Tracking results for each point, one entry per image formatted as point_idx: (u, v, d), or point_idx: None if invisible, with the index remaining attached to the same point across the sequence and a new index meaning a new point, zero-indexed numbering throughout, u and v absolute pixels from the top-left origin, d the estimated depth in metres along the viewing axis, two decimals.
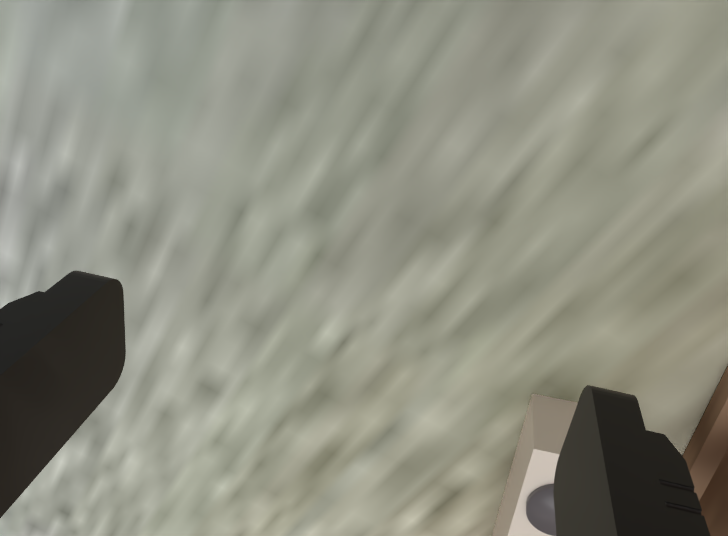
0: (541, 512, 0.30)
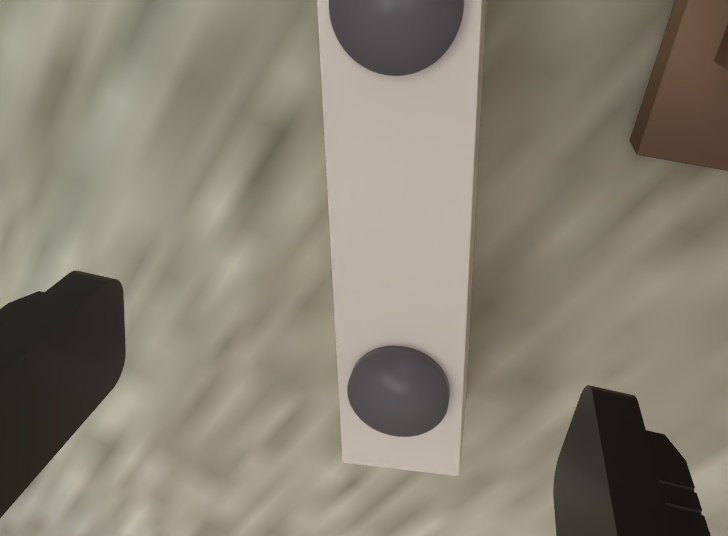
0: (360, 14, 0.14)
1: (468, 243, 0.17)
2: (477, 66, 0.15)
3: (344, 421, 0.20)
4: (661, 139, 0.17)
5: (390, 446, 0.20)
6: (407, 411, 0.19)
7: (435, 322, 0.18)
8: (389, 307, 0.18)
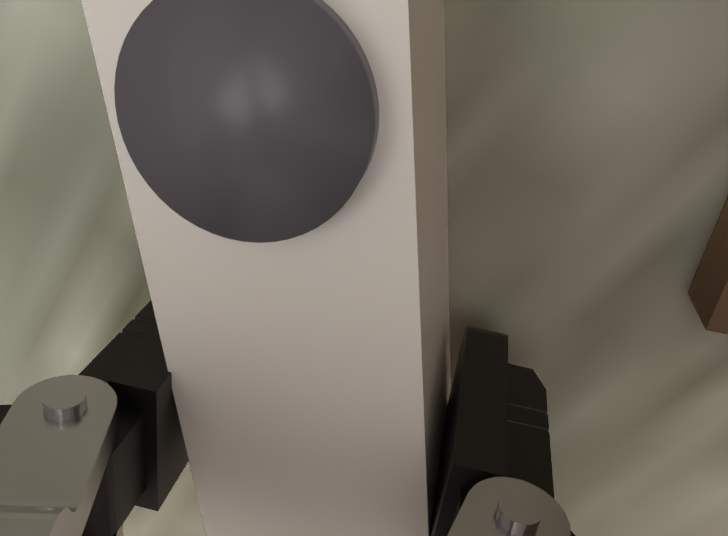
0: (178, 134, 0.07)
1: (424, 499, 0.09)
2: (414, 218, 0.08)
3: None
4: None
5: None
6: None
7: None
8: None
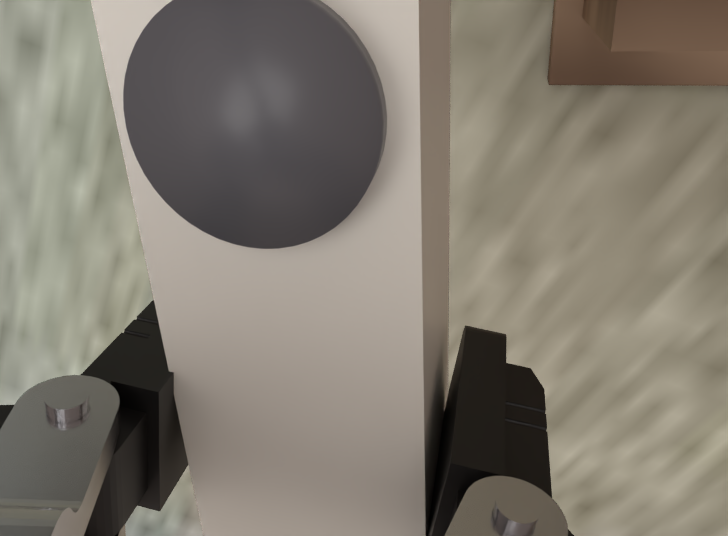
0: (185, 140, 0.07)
1: (422, 505, 0.10)
2: (419, 227, 0.08)
3: None
4: (562, 72, 0.26)
5: None
6: None
7: None
8: None
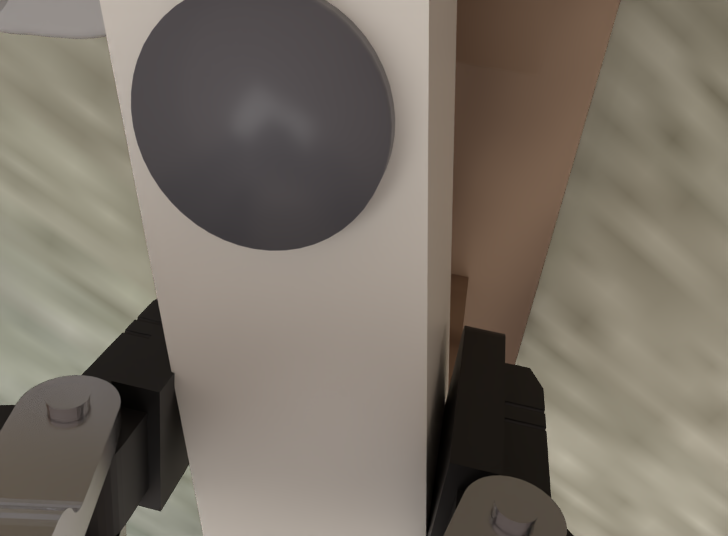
0: (193, 141, 0.07)
1: (423, 507, 0.10)
2: (426, 231, 0.08)
3: None
4: None
5: None
6: None
7: None
8: None
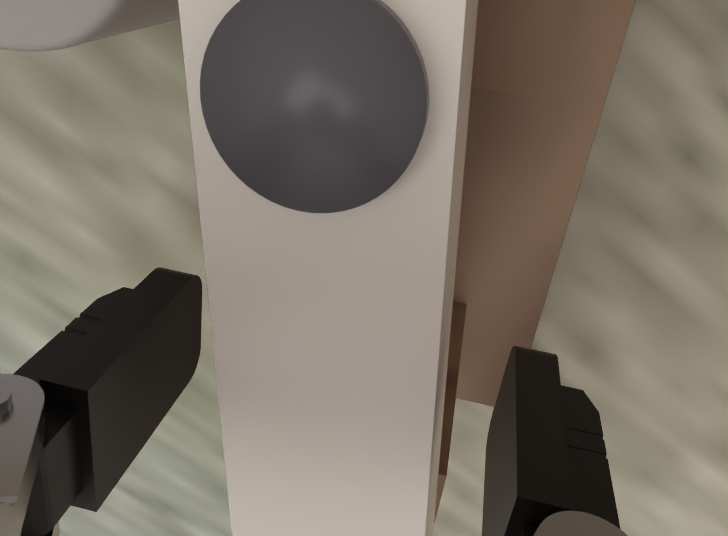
0: (252, 113, 0.08)
1: (429, 452, 0.11)
2: (448, 202, 0.09)
3: None
4: None
5: None
6: None
7: None
8: (311, 523, 0.12)
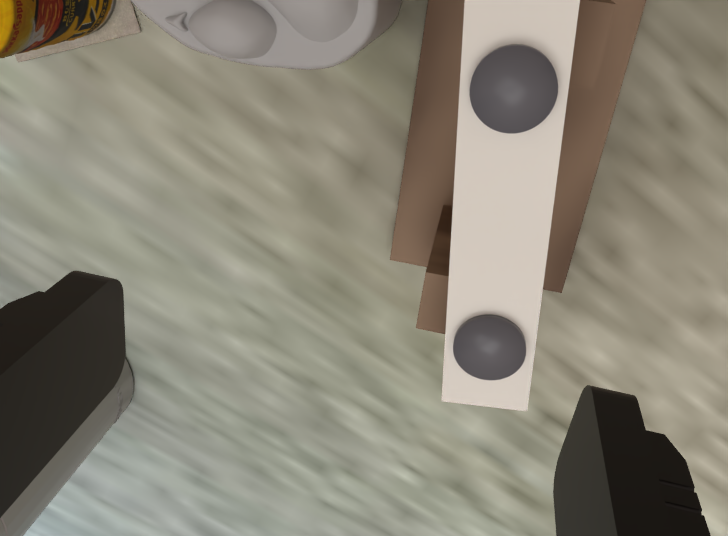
0: (490, 94, 0.22)
1: (547, 243, 0.24)
2: (562, 128, 0.23)
3: (446, 369, 0.28)
4: (554, 284, 0.39)
5: (478, 388, 0.28)
6: (495, 361, 0.27)
7: (519, 297, 0.26)
8: (488, 287, 0.26)
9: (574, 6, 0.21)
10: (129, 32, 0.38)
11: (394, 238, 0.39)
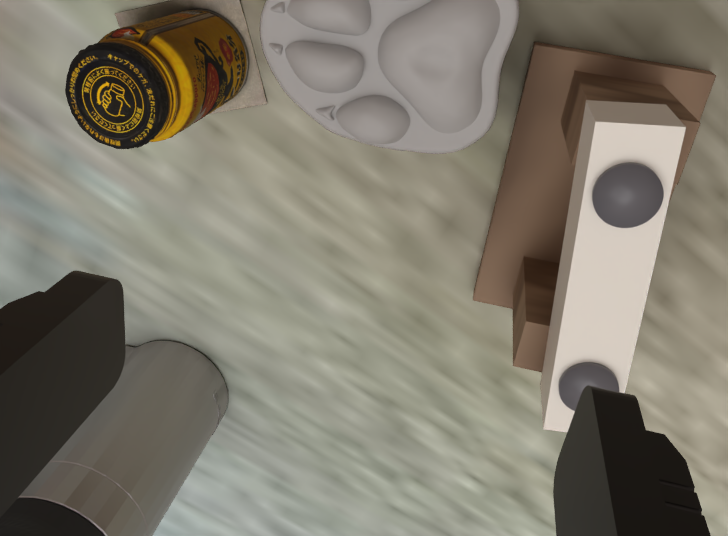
0: (609, 199, 0.29)
1: (642, 309, 0.31)
2: (662, 224, 0.29)
3: (550, 404, 0.34)
4: None
5: None
6: None
7: (616, 350, 0.32)
8: (591, 341, 0.32)
9: (680, 138, 0.27)
10: (256, 103, 0.44)
11: (478, 282, 0.46)
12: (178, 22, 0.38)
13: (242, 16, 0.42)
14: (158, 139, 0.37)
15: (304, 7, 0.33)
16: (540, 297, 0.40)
